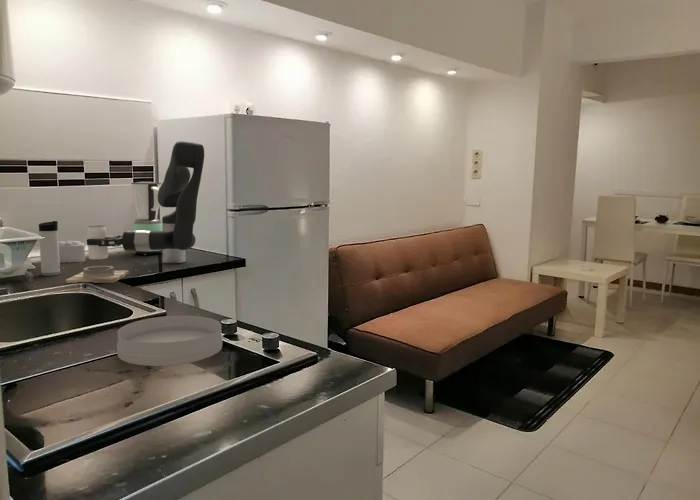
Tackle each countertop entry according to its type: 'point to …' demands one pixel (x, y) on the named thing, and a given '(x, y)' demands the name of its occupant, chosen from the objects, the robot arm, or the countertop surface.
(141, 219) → the juicer
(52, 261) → the travel mug
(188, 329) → the dish
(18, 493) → the countertop surface
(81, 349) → the countertop surface
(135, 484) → the countertop surface
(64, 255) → the light grey rounded block
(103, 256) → the can
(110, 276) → the socket plate
